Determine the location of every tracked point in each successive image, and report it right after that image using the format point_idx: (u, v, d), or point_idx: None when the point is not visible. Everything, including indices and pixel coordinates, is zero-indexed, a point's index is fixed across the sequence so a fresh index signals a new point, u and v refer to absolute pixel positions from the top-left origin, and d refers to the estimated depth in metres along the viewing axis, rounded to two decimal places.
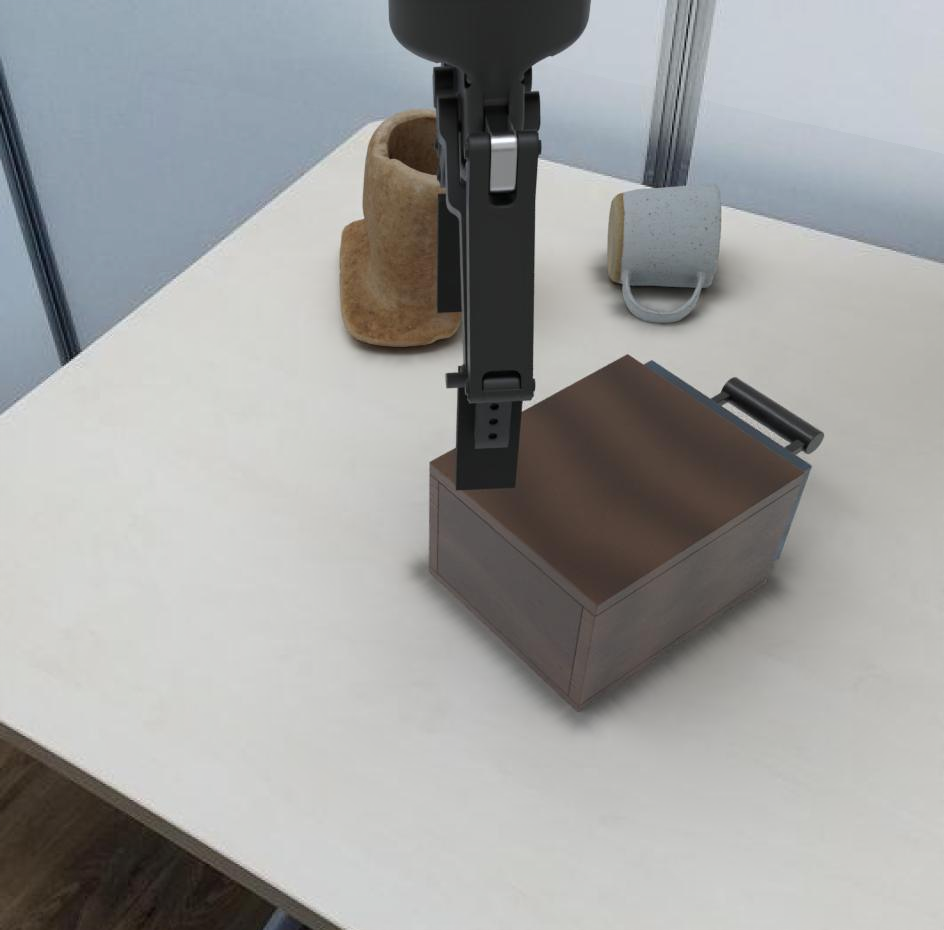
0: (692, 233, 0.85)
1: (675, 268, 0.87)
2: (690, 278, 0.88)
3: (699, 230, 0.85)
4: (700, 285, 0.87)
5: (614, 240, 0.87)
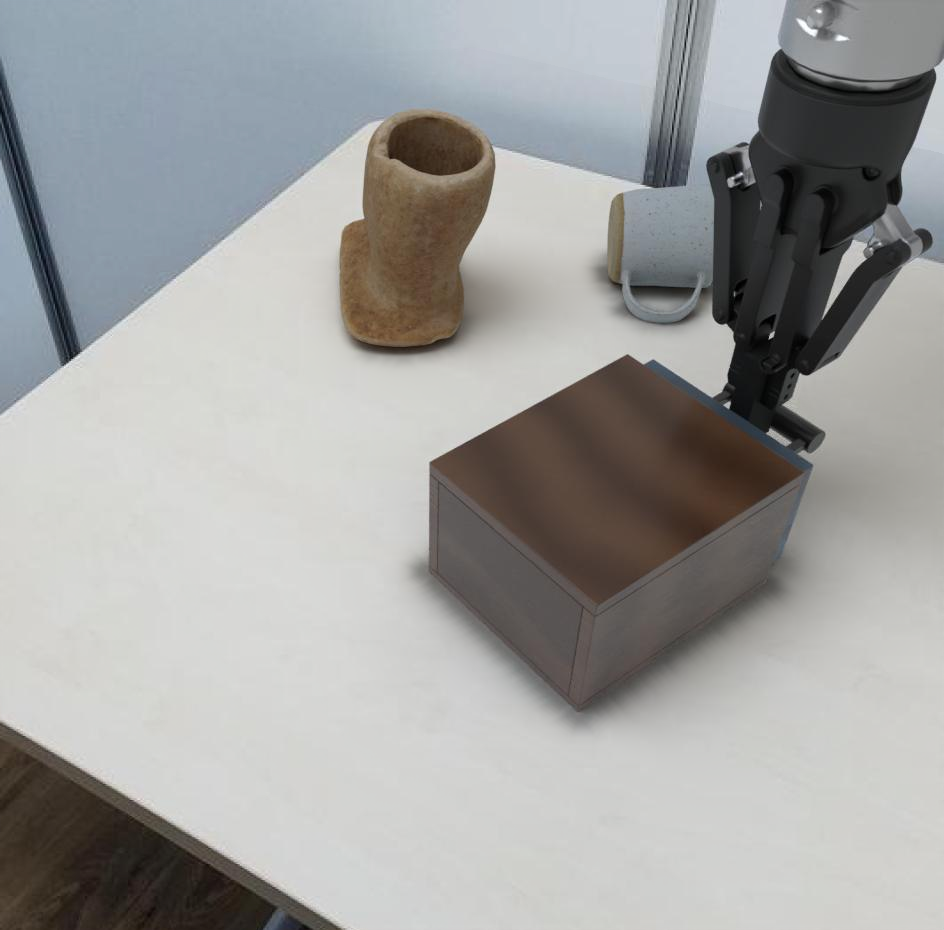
0: (692, 233, 0.85)
1: (675, 268, 0.87)
2: (690, 278, 0.88)
3: (699, 230, 0.85)
4: (700, 285, 0.87)
5: (614, 240, 0.87)
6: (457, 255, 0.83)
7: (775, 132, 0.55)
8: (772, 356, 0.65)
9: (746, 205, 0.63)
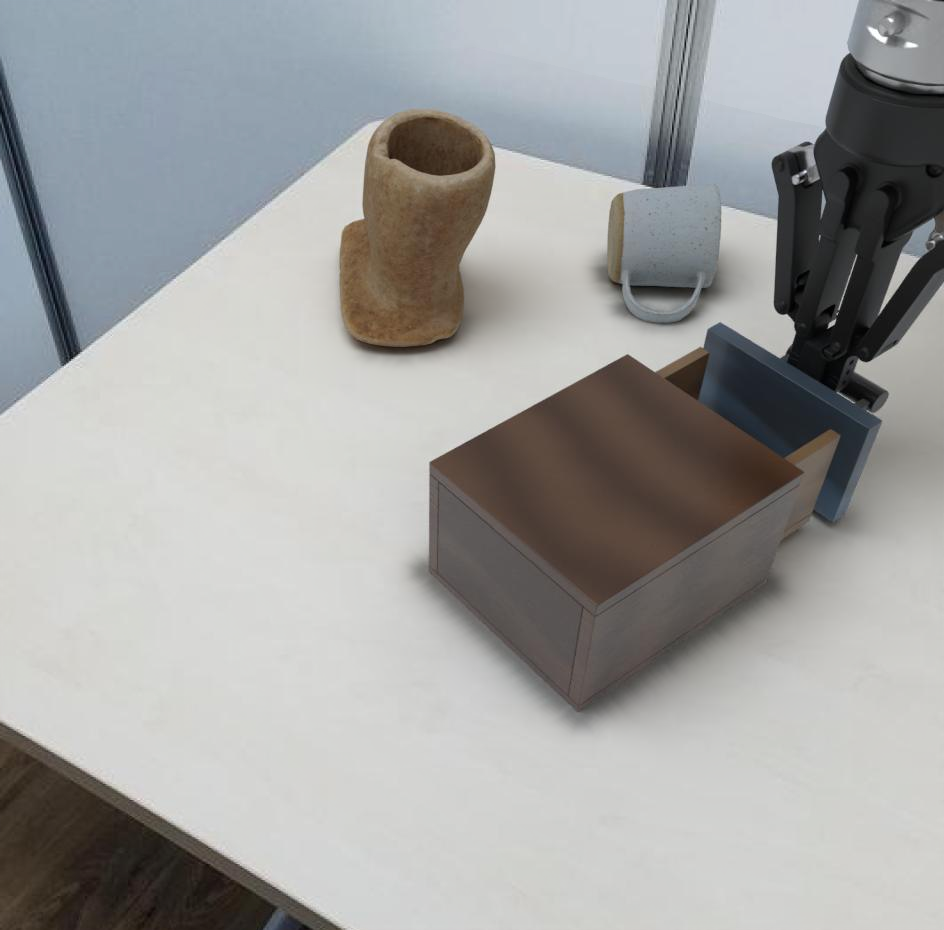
0: (692, 233, 0.85)
1: (675, 268, 0.87)
2: (690, 278, 0.88)
3: (699, 230, 0.85)
4: (700, 285, 0.87)
5: (614, 240, 0.87)
6: (457, 255, 0.83)
7: (844, 133, 0.58)
8: (832, 344, 0.68)
9: (809, 201, 0.66)
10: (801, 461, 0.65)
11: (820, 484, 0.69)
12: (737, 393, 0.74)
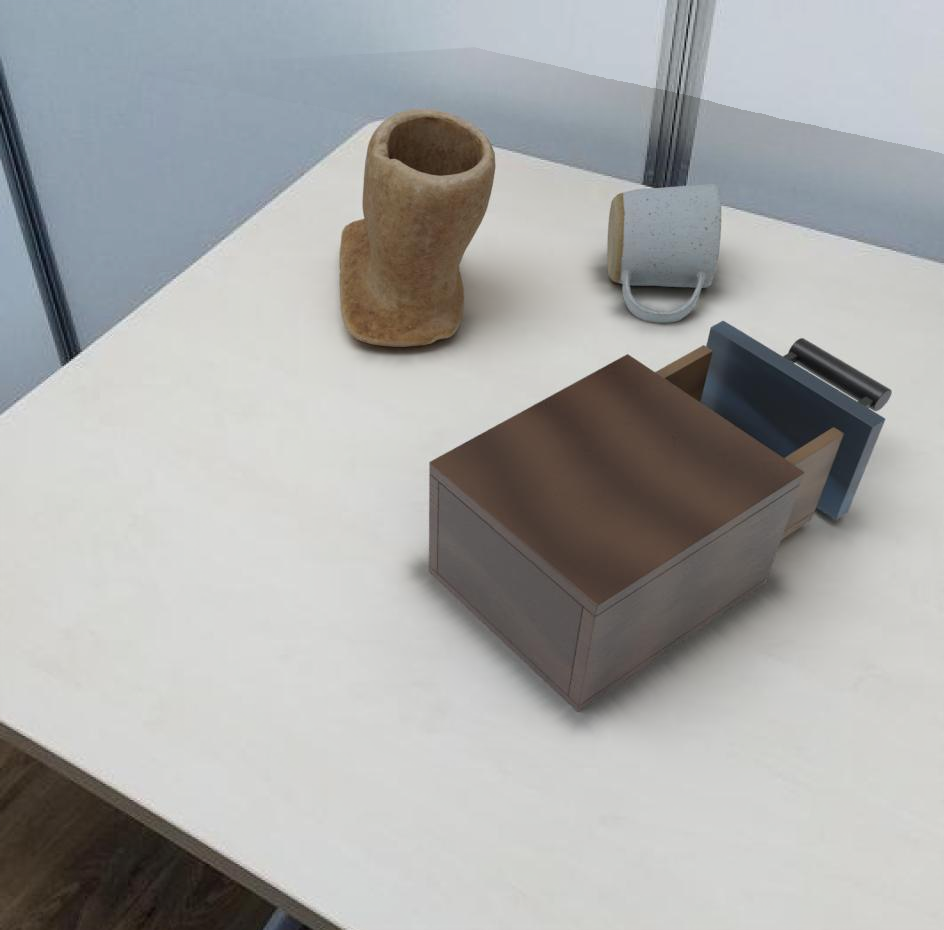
0: (692, 233, 0.85)
1: (675, 268, 0.87)
2: (690, 278, 0.88)
3: (699, 230, 0.85)
4: (700, 285, 0.87)
5: (614, 240, 0.87)
6: (457, 255, 0.83)
7: None
8: None
9: None
10: (804, 459, 0.65)
11: (823, 482, 0.69)
12: (740, 391, 0.74)
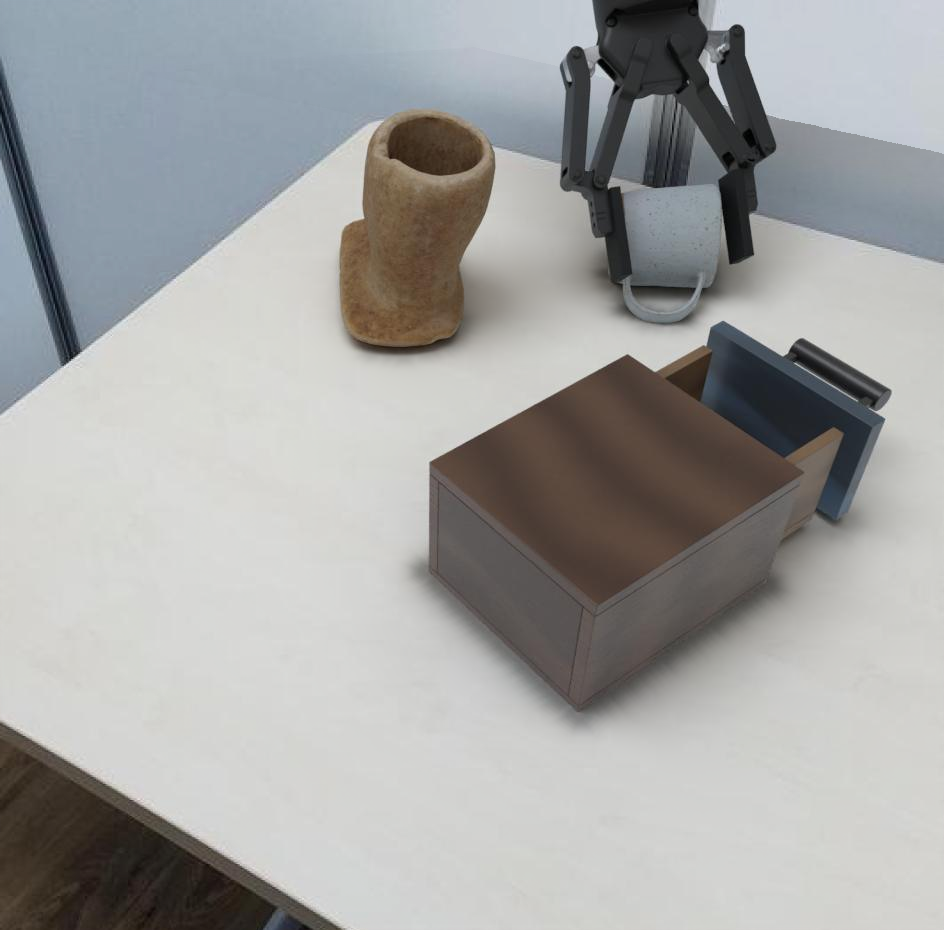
0: (693, 234, 0.85)
1: (675, 268, 0.87)
2: (690, 278, 0.88)
3: (700, 230, 0.85)
4: (700, 285, 0.87)
5: None
6: (457, 255, 0.83)
7: None
8: None
9: (726, 74, 0.85)
10: (804, 459, 0.65)
11: (823, 482, 0.69)
12: (740, 391, 0.74)
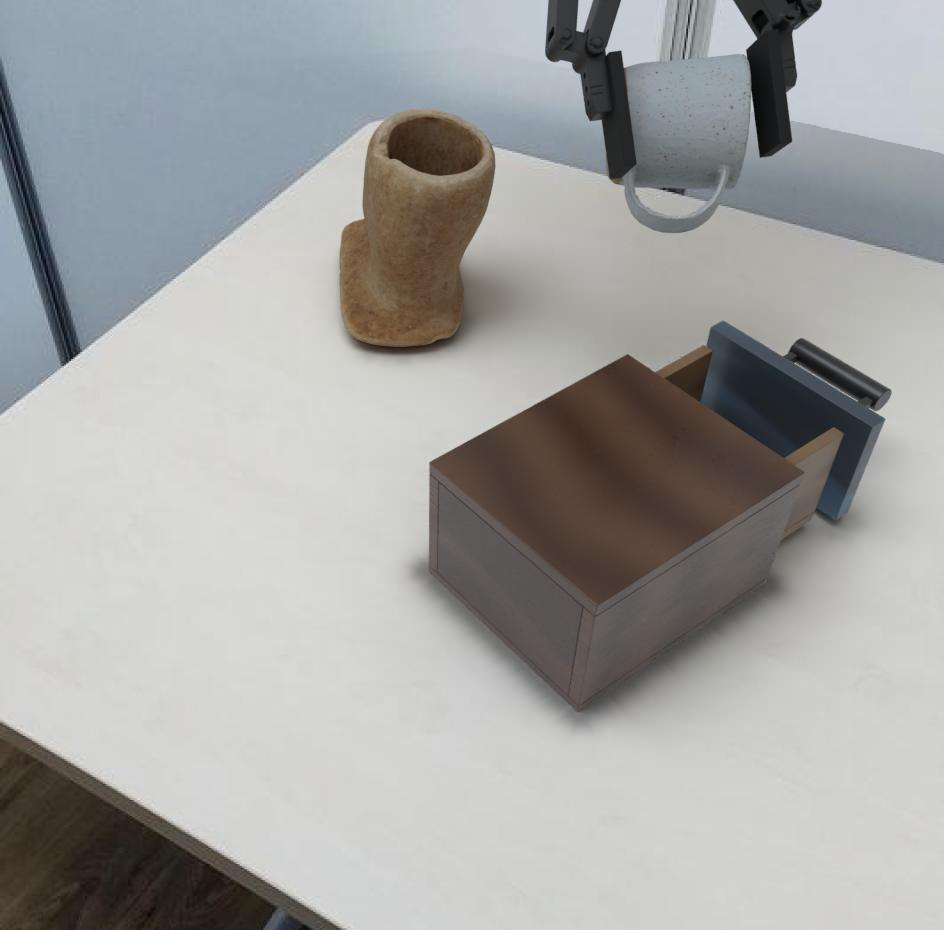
0: (714, 114, 0.67)
1: (691, 161, 0.69)
2: (710, 175, 0.69)
3: (723, 110, 0.67)
4: (723, 182, 0.68)
5: None
6: (457, 255, 0.83)
7: None
8: None
9: None
10: (804, 459, 0.65)
11: (823, 482, 0.69)
12: (740, 391, 0.74)
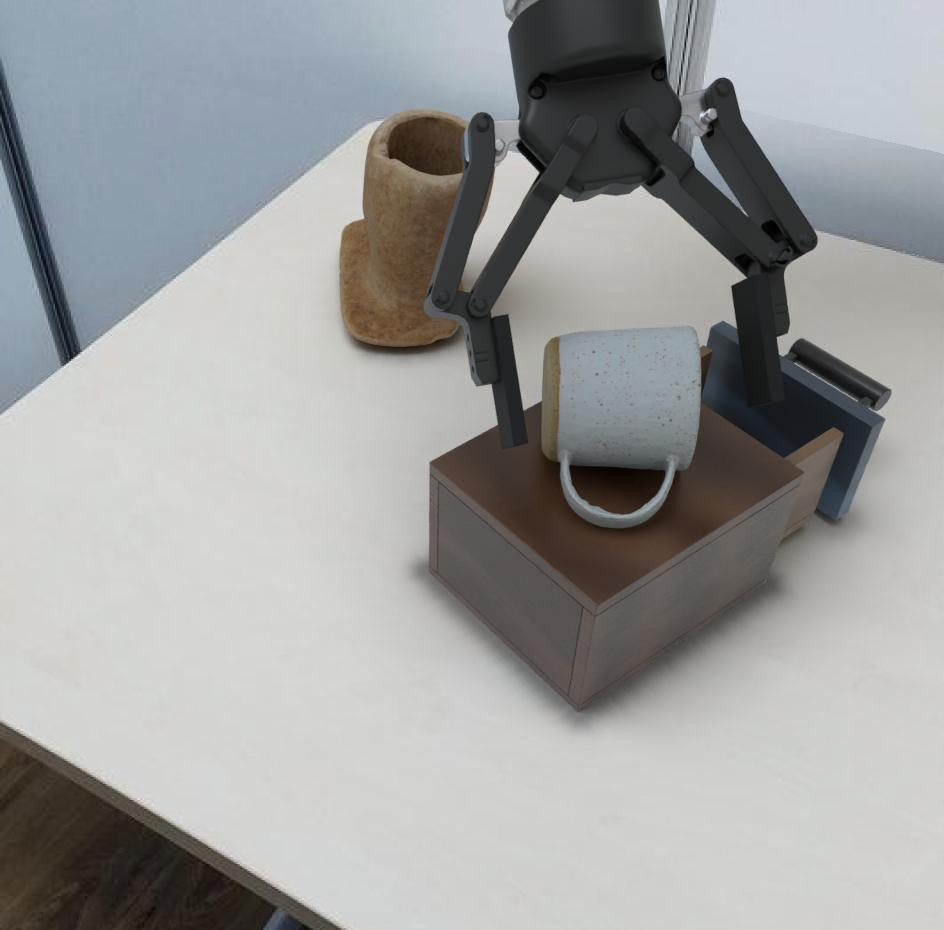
0: (659, 404, 0.58)
1: (635, 450, 0.60)
2: (657, 462, 0.60)
3: (669, 400, 0.58)
4: (671, 475, 0.60)
5: (546, 409, 0.60)
6: None
7: None
8: None
9: (719, 150, 0.58)
10: (804, 459, 0.65)
11: (823, 482, 0.69)
12: (740, 391, 0.74)
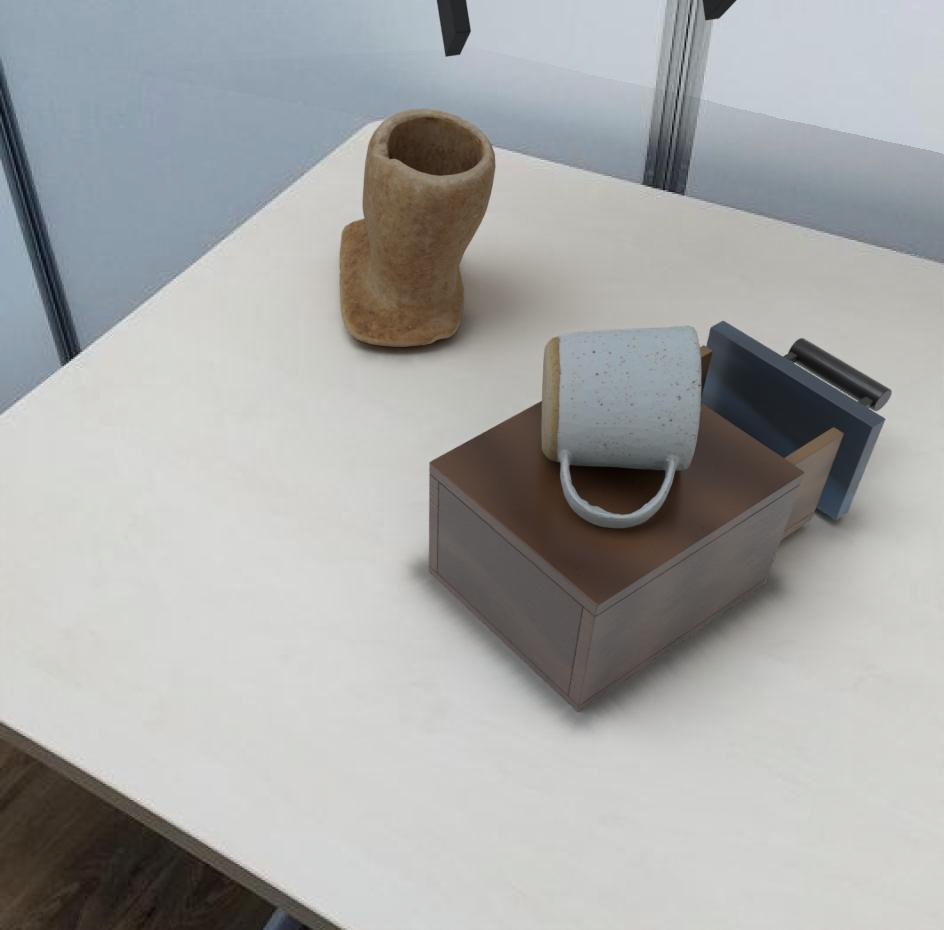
0: (659, 404, 0.58)
1: (635, 450, 0.60)
2: (657, 462, 0.60)
3: (669, 400, 0.58)
4: (671, 475, 0.60)
5: (546, 409, 0.60)
6: (457, 255, 0.83)
7: None
8: None
9: None
10: (804, 459, 0.65)
11: (823, 482, 0.69)
12: (740, 391, 0.74)
